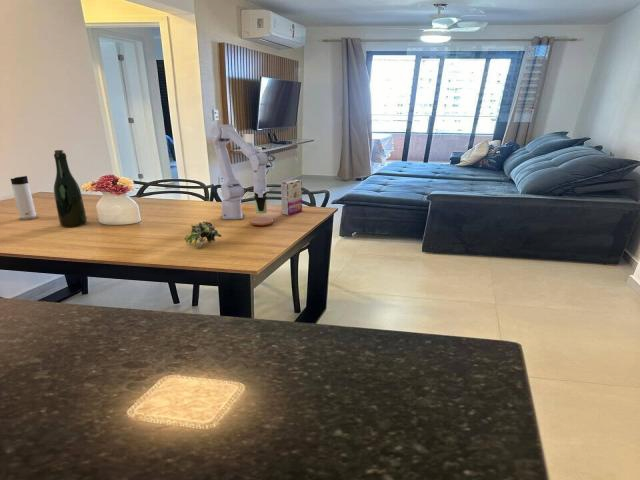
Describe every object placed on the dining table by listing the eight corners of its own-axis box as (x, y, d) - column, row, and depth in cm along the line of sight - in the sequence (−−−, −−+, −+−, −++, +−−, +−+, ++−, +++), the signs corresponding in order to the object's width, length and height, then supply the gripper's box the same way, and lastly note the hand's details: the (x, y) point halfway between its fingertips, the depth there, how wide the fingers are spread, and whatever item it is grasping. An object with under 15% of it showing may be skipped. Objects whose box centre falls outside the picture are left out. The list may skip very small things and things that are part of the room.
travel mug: (31, 220, 178) (20, 177, 171) (17, 219, 178) (6, 177, 171) (40, 216, 184) (30, 175, 177) (27, 216, 184) (16, 174, 177)
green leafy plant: (210, 254, 155) (226, 231, 153) (200, 259, 144) (217, 234, 142) (187, 238, 154) (203, 214, 152) (175, 242, 144) (193, 216, 142)
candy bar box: (295, 209, 204) (295, 179, 199) (302, 211, 201) (302, 180, 196) (281, 213, 196) (280, 182, 190) (288, 215, 193) (287, 183, 187)
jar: (255, 213, 174) (255, 201, 172) (255, 211, 178) (255, 198, 176) (266, 213, 174) (266, 200, 172) (266, 210, 179) (266, 198, 177)
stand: (249, 227, 172) (249, 223, 172) (249, 220, 182) (249, 217, 182) (273, 226, 174) (273, 223, 173) (272, 220, 184) (272, 216, 184)
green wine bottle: (57, 224, 172) (41, 149, 162) (83, 219, 180) (69, 148, 169) (63, 229, 165) (47, 151, 155) (90, 224, 173) (76, 150, 162)
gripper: (269, 183, 165) (270, 213, 170) (268, 177, 179) (269, 205, 183) (252, 183, 164) (254, 213, 169) (253, 177, 178) (254, 205, 182)
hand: (260, 209), depth 176 cm, fingers closed on jar, 5 cm apart
